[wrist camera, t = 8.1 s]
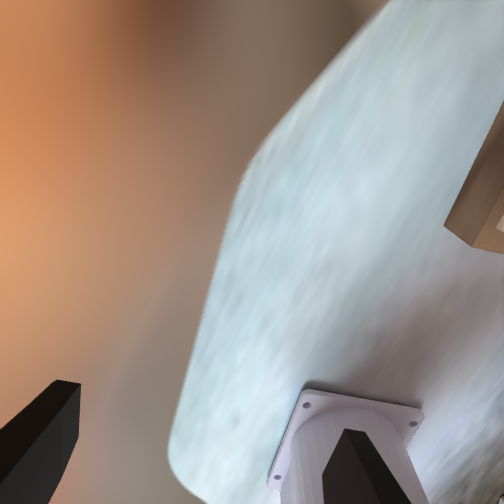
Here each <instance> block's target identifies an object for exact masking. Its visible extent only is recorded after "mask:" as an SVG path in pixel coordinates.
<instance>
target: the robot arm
mask: <svg viewBox="0 0 504 504" xmlns="http://www.w3.org/2000/svg"><path fill="white" fill-rule="evenodd" d="M80 394H81V384H80V383H74V382H68V381H62V380H56V381H54V382H52V383H51V384H50V385H49V386H48V387H47V388H46V389H45V390H44V391H43V392H42V393H40V394H39V395H38V396H37V397H36V398H35V399H34V400H33V401H32V402H31V403H30V404H29V405H27V406H26V407H25V408H24V409H23V410H22V411H21V412H19V413H18V414H17V415H16V416H15V417H14V418H13V419H12V420H10V421H9V422H8V423H7V424H6V425H5V426H4V427H2V428H1V429H0V504H48V503H49V501H50V499H51V497H52V496H53V494H54V492H55V490H56V488H57V486H58V484H59V482H60V480H61V478H62V476H63V473H64V471H65V469H66V466H67V464H68V461H69V459H70V457H71V454H72V452H73V449H74V447H75V444H76V442H77V439H78V436H79V415H80ZM306 402H309V403H306ZM423 419H424V414H423V412H422V411H421V410H420V409H418V408H413V407H407V406H402V405H396V404H391V403H385V402H379V401H374V400H368V399H363V398H357V397H351V396H346V395H340V394H335V393H329V392H323V391H318V390H312V389H307V390H304V391H302V393H301V394H300V397H299V399H298V402H297V405H296V407H295V410H294V412H293V415H292V417H291V420H290V422H289V425H288V428H287V430H286V433H285V435H284V438H283V440H282V443H281V445H280V448H279V450H278V453H277V456H276V458H275V461H274V463H273V466H272V468H271V471H270V473H269V476H268V479H267V487H268V488H269V489H270V490H275V491H280V496H281V504H429V502H428V500H427V497H426V495H425V493H424V490H423V488H422V486H421V483H420V481H419V478H418V476H417V474H416V471H415V469H414V467H413V464H412V462H411V459H410V457H409V455H408V452H407V450H406V447H407V446H408V444H409V442H410V441H411V439H412V437H413V436H414V434H415V432H416V431H417V429H418V428H419V426H420V424H421V423H422V421H423Z"/></svg>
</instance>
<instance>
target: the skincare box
mask: <svg viewBox="0 0 504 504" xmlns="http://www.w3.org/2000/svg"><path fill="white" fill-rule="evenodd" d="M498 504H504V496H502V497H500V500H499V503H498Z"/></svg>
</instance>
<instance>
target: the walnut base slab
mask: <svg viewBox="0 0 504 504" xmlns="http://www.w3.org/2000/svg"><path fill="white" fill-rule="evenodd" d="M503 214H504V102H503V104H502V106H501V108H500V110H499V112H498V114H497V116H496V118H495V120H494V122H493V124H492V126H491V128H490V130H489V133H488V135H487V137H486V139H485V141H484V143H483V145H482V147H481V149H480V151H479V153H478V155H477V157H476V159H475V161H474V163H473V166H472V168H471V170H470V172H469V174H468V176H467V178H466V180H465V182H464V184H463V186H462V188H461V190H460V192H459V194H458V196H457V199H456V201H455V203H454V205H453V207H452V209H451V211H450V213H449V215H448V217H447V219H446V221H445V223H444V225H443V226H444V227H446V228H447V229H448V230H450V231H451V232H453V233H454V234H455V235H457V236H458V237H459V238H461V239H462V240H463V241H465V242H466V243H467V244H469V245H470V246H471V247H474V248H478V249H483V250H487V251H492V252H496V253H500V254H504V232H502V231H500V230H499V229H497V228H496V227H497V225H498V223H499V221H500V220H501V218H502V216H503Z"/></svg>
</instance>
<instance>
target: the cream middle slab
mask: <svg viewBox="0 0 504 504" xmlns="http://www.w3.org/2000/svg"><path fill="white" fill-rule="evenodd" d="M496 228H497V229H499V230H500V231H502V232H504V214H503V216H502V218H501V220H500V221H499V223H498V225H497V227H496Z"/></svg>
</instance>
